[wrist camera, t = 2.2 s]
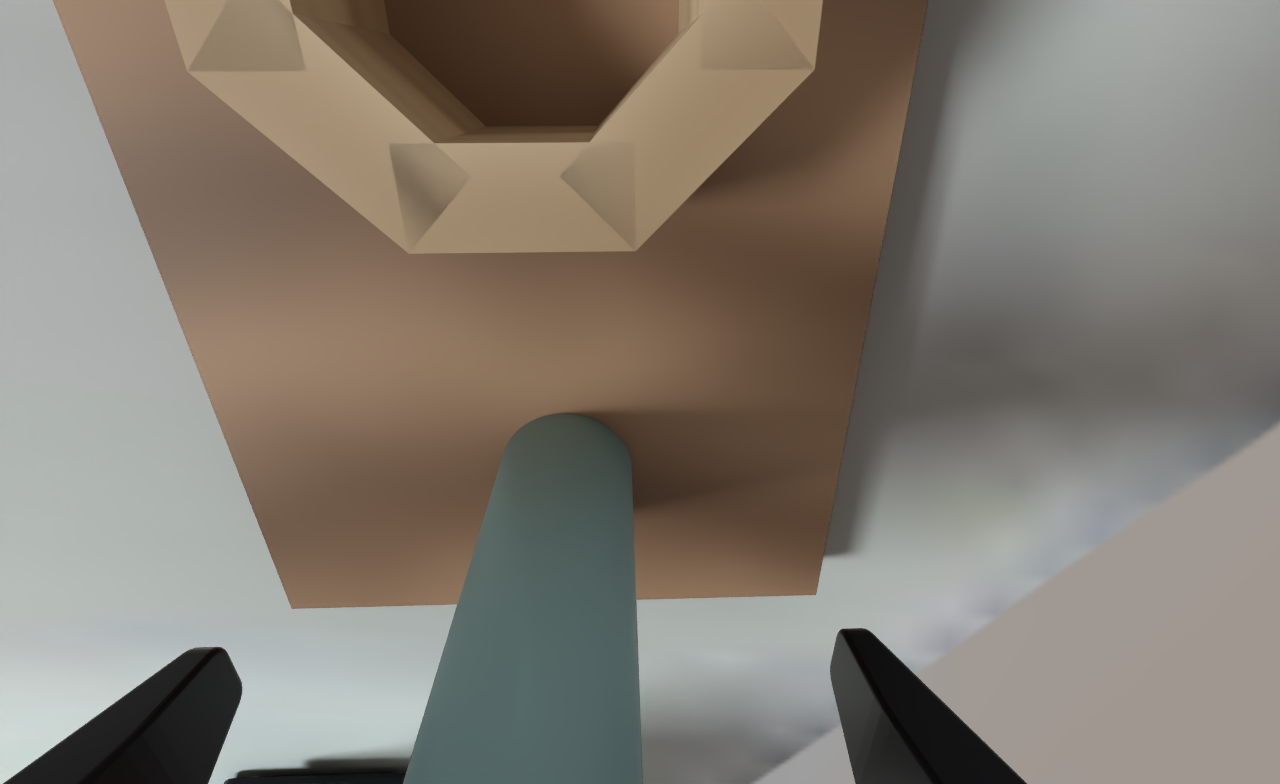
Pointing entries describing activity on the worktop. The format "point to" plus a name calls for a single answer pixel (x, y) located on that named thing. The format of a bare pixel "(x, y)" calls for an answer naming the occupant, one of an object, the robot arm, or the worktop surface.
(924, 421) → the worktop surface
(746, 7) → the bead
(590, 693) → the dowel
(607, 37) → the board
